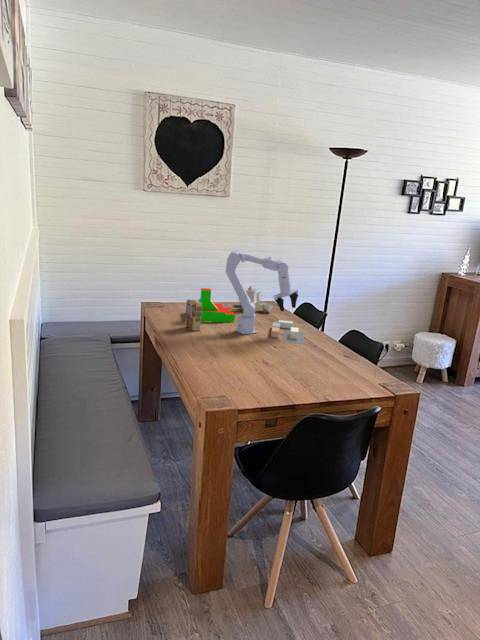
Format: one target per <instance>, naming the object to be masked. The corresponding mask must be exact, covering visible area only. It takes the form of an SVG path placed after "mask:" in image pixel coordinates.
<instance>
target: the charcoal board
mask: <svg viewBox="0 0 480 640" xmlns="http://www.w3.org/2000/svg"><path fill="white" fill-rule="evenodd" d="M290 332H291V329H290V330H289V329H288V330H287V329H283V338H282V342H283V343H290V344H298V345H305V342H306V341H305V332H304V331H299V333H298V339H290Z"/></svg>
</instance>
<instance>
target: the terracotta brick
mask: <svg viewBox="0 0 480 640" xmlns="http://www.w3.org/2000/svg"><path fill="white" fill-rule="evenodd" d="M279 329H280V330H281V328H276V327H271V332H270V333H271V334H270V338H276V339H279V336H280V330H279Z"/></svg>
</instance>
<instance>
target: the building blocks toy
mask: <svg viewBox="0 0 480 640" xmlns="http://www.w3.org/2000/svg"><path fill="white" fill-rule="evenodd" d="M211 295H212V289H211V288H209V287H208V288H205V287H204V288H203V287H201V288H200V298H199V299H198V300H197V301H198V302H201V303H202V310H201V321H211V322H210V323H212V322H225V321H227V322H225V323H235V318H236V314H235V312H234V311H233V308H232V307H223V304H221V303H214V302H213V301H212V300H211Z"/></svg>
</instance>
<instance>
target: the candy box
mask: <svg viewBox="0 0 480 640" xmlns="http://www.w3.org/2000/svg"><path fill="white" fill-rule="evenodd" d="M201 310H202V303H201V302H198V300H196V299H193V298H192V299H191V298H190V299H186V307H185V322H184V325H185V326H186V327H188V328H190V329H192V330H191V331H193V330H194V331H193V332H196V331H195V330H200V331H201V323H202V322H201ZM185 326H184V327H185ZM186 327H185V328H186ZM188 328H187V329H188ZM190 329H189V330H190Z"/></svg>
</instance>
